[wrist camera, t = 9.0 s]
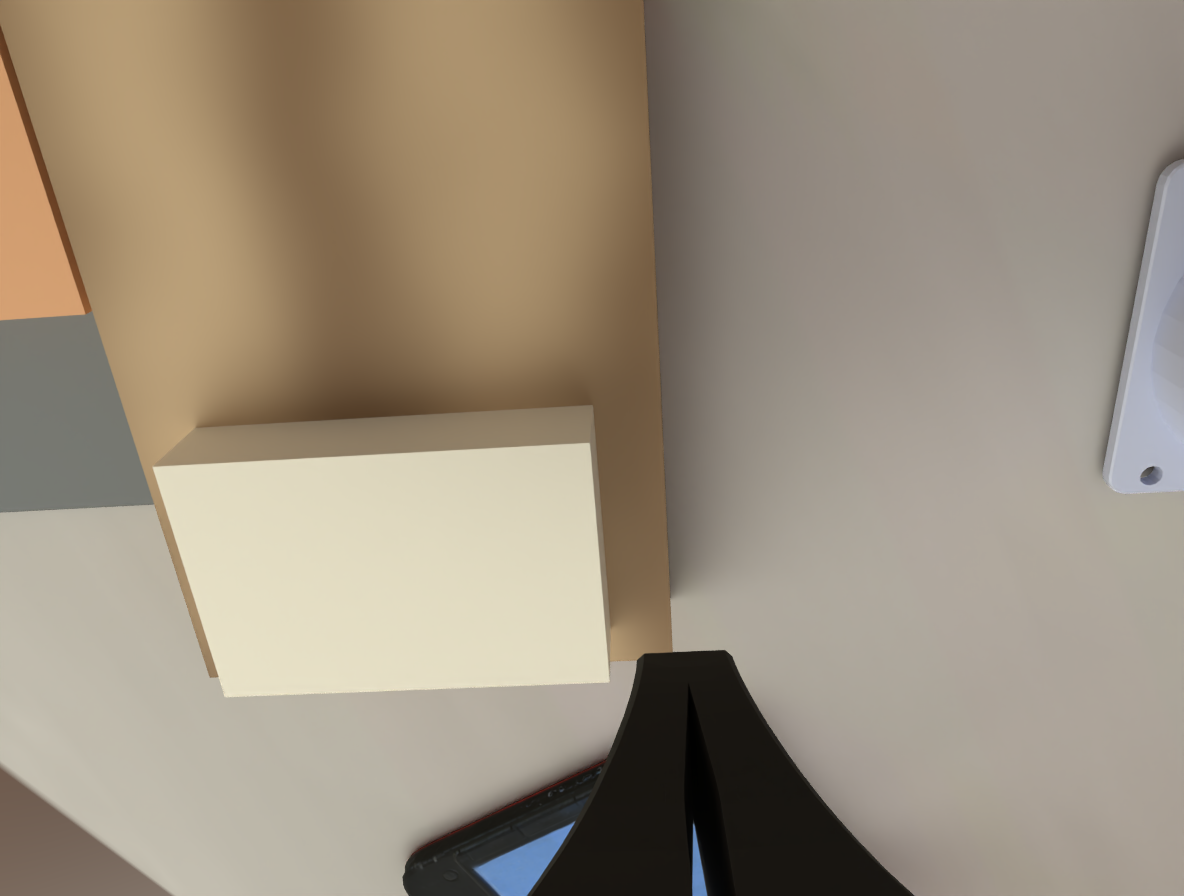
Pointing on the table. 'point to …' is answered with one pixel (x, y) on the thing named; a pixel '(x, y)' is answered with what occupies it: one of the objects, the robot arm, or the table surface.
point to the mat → (63, 420)
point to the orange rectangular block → (31, 219)
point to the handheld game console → (510, 846)
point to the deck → (366, 225)
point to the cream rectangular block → (395, 551)
